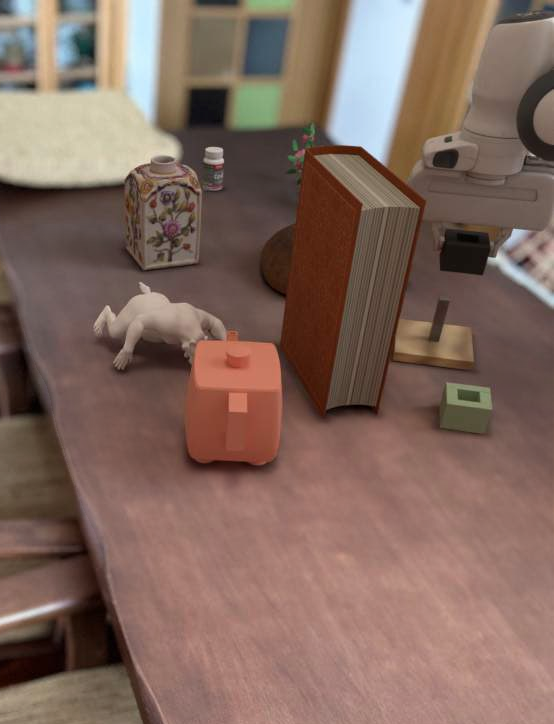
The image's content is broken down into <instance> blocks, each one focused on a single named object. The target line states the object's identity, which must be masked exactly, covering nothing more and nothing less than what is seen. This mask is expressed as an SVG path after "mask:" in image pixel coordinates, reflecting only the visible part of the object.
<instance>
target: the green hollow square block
mask: <svg viewBox="0 0 554 724" xmlns="http://www.w3.org/2000/svg"><path fill="white" fill-rule="evenodd" d="M438 408H439V428H440V429H444V430H445V429H446V430H451V431H452V430H453V431H460V432H465V433H466V432H467V433H473V434H474V433H475V434H480V435H484V434H486V430H487V427H488V424H489V421H490V418H491V415H492V412H493V403H492V395H491V387H488V386H487V387H484V386H478V385H471V384H463V383H457V382H448V381H447V382H445V385H444V389H443V392H442V395H441V399H440V402H439V407H438Z"/></svg>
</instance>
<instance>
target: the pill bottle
mask: <svg viewBox="0 0 554 724" xmlns="http://www.w3.org/2000/svg"><path fill="white" fill-rule="evenodd" d="M204 150H205V151H204V155H205V157H204V158H203V160H202V161H203V162H202V179H201V180H202V181H201V188H202V189H203V190H206V191H208V192H216V191H220V190H222V189H223V184H222V183H224V169H225V159H224V157H223V156H224V149H223V148H222V147H218V146H209V147H206V148H205V149H204ZM202 182H203V183H204V184H208V185H220V184H222V185H221V186H218V187H208V186H205V185H203V184H202Z"/></svg>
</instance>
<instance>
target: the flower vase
mask: <svg viewBox="0 0 554 724" xmlns="http://www.w3.org/2000/svg"><path fill="white" fill-rule="evenodd" d="M315 130H316V129H315V123H314V122H311V124H310V126H309V128H308V127H303V126H302V131H303V134H302V137H301V138H300V140H301V142H302V143H301V144H302V145H304V146H305V148H302V149H301V150H300V149H299V146H298V143H297V141H296V139H295V138H293V139H292V142H291V146H292V150H293V151H294V152H296V153H295V154H294V155H287V156H286V158H287V159H288V160H289V161H290V162H292V163H293V166H295V167H291V168H289V169H287V170H286V171H285V172H284V175H291V174H297V172H298V173H300V174H302V169H303V161H304V153H305V149H306V148H311V145H312V147H315V145H314V143H315V134H316V131H315ZM320 146H324V145H323V144H322V145H320ZM298 149H299V150H298ZM300 184H301V177H299V178H298V179H297V180H296V186H300Z"/></svg>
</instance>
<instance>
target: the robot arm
mask: <svg viewBox="0 0 554 724" xmlns="http://www.w3.org/2000/svg"><path fill="white" fill-rule="evenodd" d="M477 64H478V65H477V68H476V72H475V75H474V79H473V82H472V87H471V104H470V108H469V110H468V113H467V114H466V116H465V118H464V120H463V124H462V127H461V130H459V131H456V132H452V133H447V134H443V135H437V136H434V137H430V138H427V140H425V143H424V144H423V148H422V150H421V151H422V152H421V159H420V160H418V161H417V162H416V163H415V164H414V166H413V168H412V170H411V172H410V174H409V177H408V180H407V183H406V184H407V185H408V186H409V187H411V188H412V189H413V190H414V191H416V192H417V193H418V194H419V195H420V196H422V197H423V198H424V199H425V200H426V204H425V208H424V213H423V217H422V221H430V228H431V232H432V234H433V239H434V241H433V245H432V252H434V253H436V252H437V253H440V252H443V250H444V246H445V242H446V237H444V235H443V236H442V235H441V233H440V231H439V229H440V230H441V229H442V226H443V223H453V224H462V225H473V226H483V227H491V228H493V227H494V228H499V230H500V234H499V235H498V236H497V237H496V238H495V240H494V241H491V240H490V247H491V250H490V253H489V256H488V258H492V259H496V258H497V256H498V253H499V249H500V247H501V246H503V245H504V244H505V243H507V241H508V240H509V239H510V238H511V237H512V234H513V231H514V230H521V231H523V230H524V231H532V232H543V231H545V230H547V229H548V228H549V227H550V226H551V224H552V220H553V218H554V10H546V9H545V10H541V9H540V10H528V11H522V12H518V13H513V14H510V15H508V16H506V17H504V18H502V19H501V20H500V21H498V22H497V23H496V24H495V25H494V26H493V27H492V29H491V30H490V32H489V33H488V36H487V38H486V41H485V43H484V47H483V48H482V53H481V55H480V58H479V61H478V63H477ZM528 152H529V153H530V154H532V155H528V154H527V153H528Z"/></svg>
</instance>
